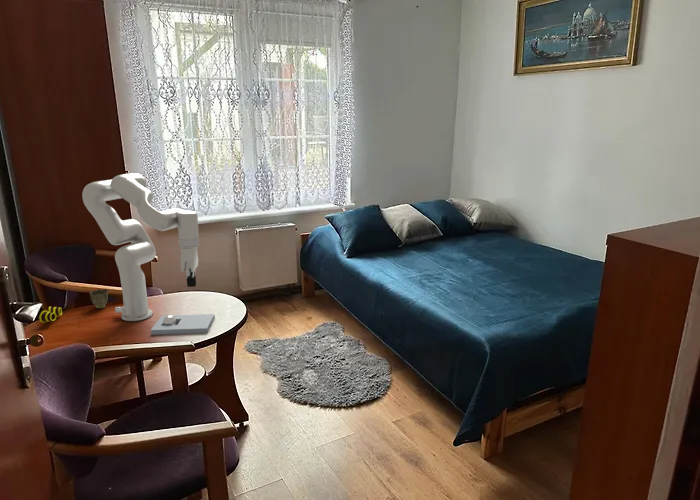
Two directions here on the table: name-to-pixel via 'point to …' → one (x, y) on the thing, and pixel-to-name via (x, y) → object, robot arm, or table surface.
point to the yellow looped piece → (50, 314)
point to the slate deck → (184, 324)
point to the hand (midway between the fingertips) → (191, 286)
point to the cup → (99, 298)
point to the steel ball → (169, 320)
